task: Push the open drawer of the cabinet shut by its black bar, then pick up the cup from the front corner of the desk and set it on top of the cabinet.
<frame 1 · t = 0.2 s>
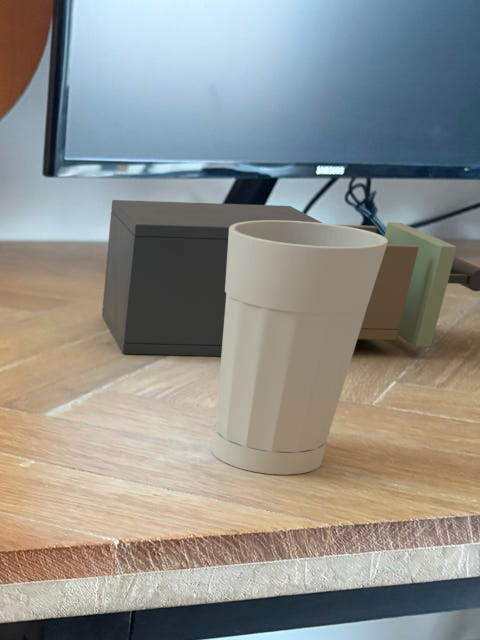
drawer: (358, 281, 78), point 5 cm above the table, slide at 8.0 cm
cabinet: (201, 336, 80), on the table
cup: (265, 456, 58), on the table
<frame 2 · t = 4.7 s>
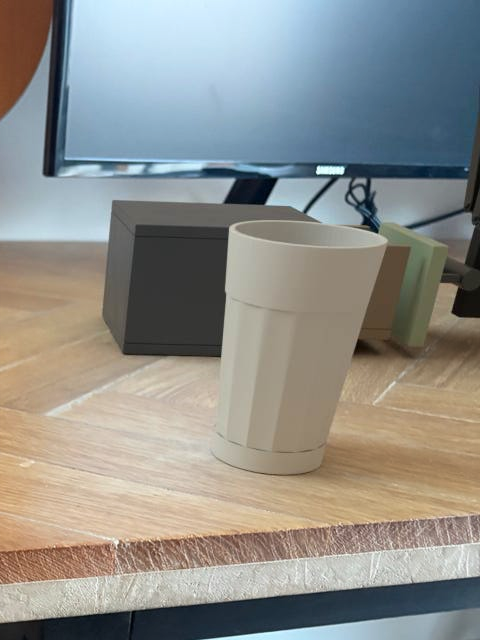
hand: (471, 315, 80), 2 cm above the table, tool pointing down, fingers closed
drawer: (351, 281, 78), point 5 cm above the table, slide at 7.4 cm, touching gripper
everything else where it was.
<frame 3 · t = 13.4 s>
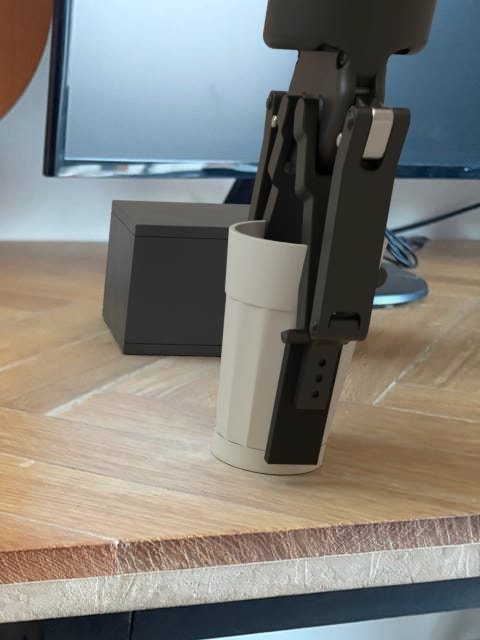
hand: (269, 435, 57), 1 cm above the table, tool pointing down, fingers closed on cup, 7 cm apart
drawer: (259, 278, 78), point 5 cm above the table, slide at 0.0 cm, touching cabinet
cup: (265, 456, 58), on the table, touching gripper
when the fingers open (10 cm above the table, at t = 21.3 s): cup stays where it is, resting on cabinet.
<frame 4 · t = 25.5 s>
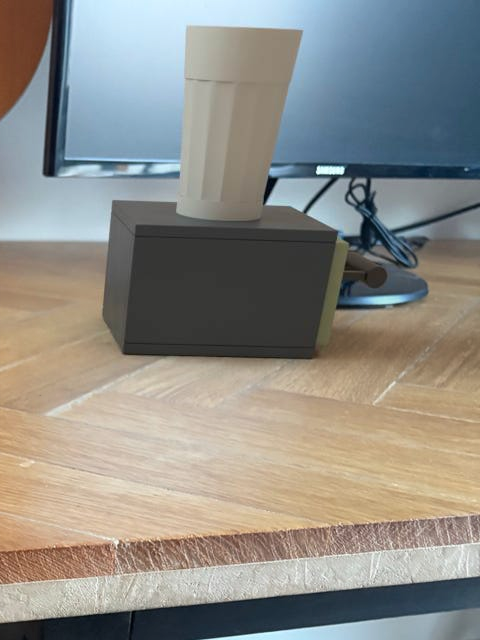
cup: (217, 216, 75), point 9 cm above the table, touching cabinet
everything else where it was.
at the end: drawer slide at 0.0 cm; cup inside the target area on the cabinet (0.0 cm from its centre), point 8.9 cm above the cabinet's base; cup tilted 0° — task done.
